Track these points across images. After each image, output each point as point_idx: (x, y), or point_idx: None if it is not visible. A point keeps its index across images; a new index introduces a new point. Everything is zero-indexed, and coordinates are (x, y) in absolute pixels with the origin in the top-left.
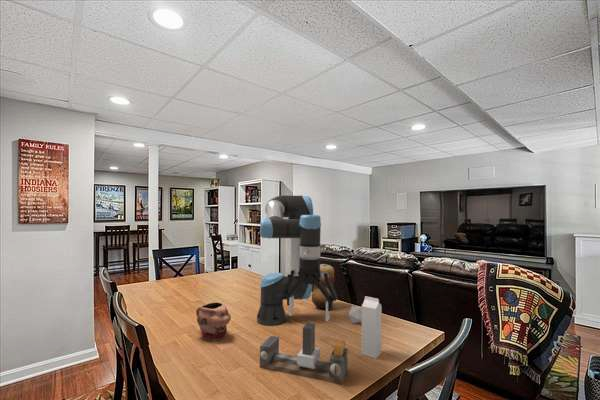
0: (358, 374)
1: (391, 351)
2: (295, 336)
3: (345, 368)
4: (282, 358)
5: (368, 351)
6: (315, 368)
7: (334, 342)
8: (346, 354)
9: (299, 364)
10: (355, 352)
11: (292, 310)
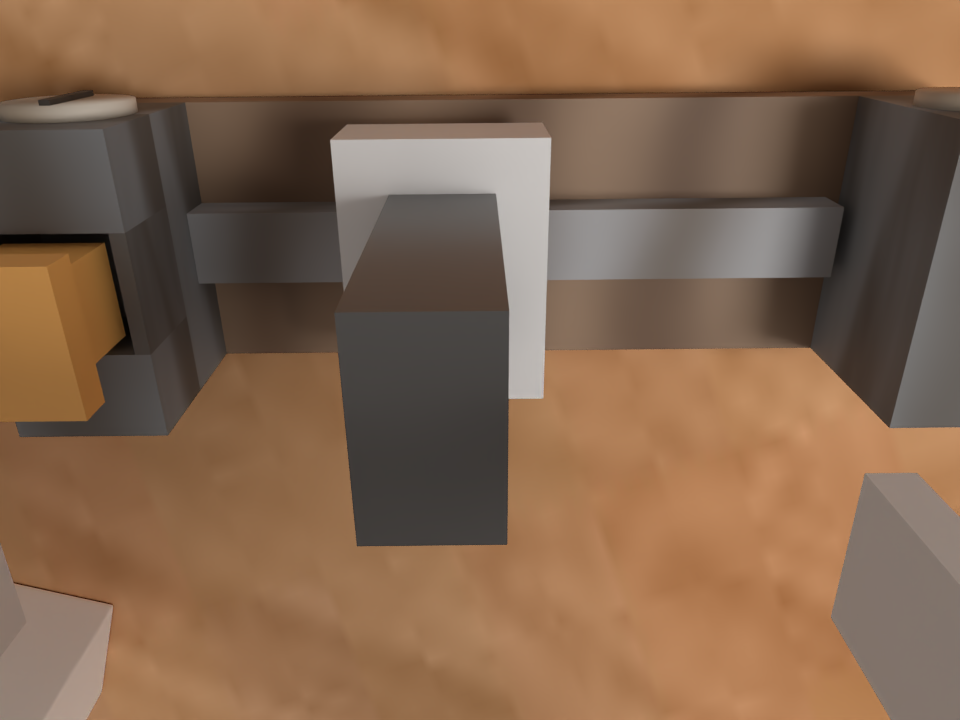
0: None
1: None
2: (733, 688)
3: None
4: (737, 207)
5: (28, 619)
6: None
7: (42, 339)
8: None
9: (511, 123)
10: (169, 612)
11: (894, 628)
